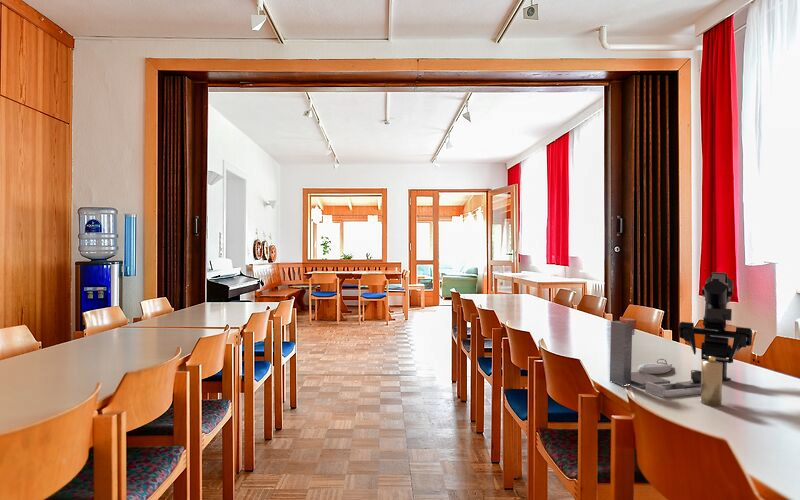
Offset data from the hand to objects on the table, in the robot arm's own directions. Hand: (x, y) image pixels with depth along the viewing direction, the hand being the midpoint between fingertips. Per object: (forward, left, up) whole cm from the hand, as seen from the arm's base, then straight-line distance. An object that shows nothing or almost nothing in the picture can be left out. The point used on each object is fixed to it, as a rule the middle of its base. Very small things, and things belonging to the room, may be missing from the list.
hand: (712, 355), depth 141 cm
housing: (+5, +4, -13) cm, 14 cm away
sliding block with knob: (0, -7, -13) cm, 14 cm away
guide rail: (+5, -7, -13) cm, 15 cm away
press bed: (+10, -19, -13) cm, 25 cm away
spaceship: (-9, -29, -13) cm, 33 cm away
